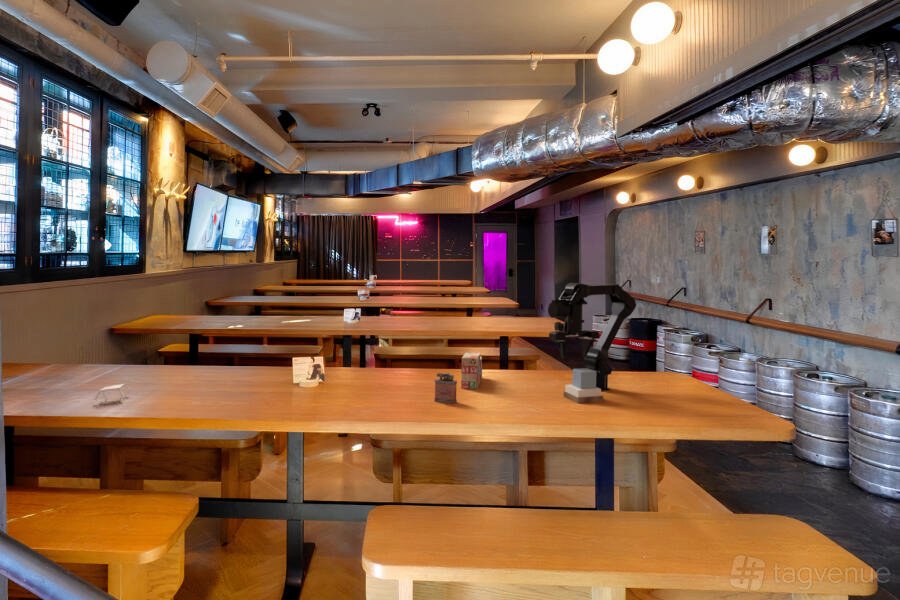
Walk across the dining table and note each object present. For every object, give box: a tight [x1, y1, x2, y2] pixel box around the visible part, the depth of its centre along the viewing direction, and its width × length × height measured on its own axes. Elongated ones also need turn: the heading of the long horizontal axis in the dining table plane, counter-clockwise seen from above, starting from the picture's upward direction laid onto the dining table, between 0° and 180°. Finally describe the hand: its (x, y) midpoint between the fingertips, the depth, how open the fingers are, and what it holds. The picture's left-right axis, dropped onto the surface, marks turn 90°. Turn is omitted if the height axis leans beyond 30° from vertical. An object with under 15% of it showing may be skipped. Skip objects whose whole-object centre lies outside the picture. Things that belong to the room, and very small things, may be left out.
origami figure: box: [94, 383, 132, 405], centre depth 183 cm, size 12×8×5 cm
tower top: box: [564, 383, 602, 397], centre depth 192 cm, size 9×9×2 cm
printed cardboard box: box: [460, 352, 483, 390], centre depth 216 cm, size 21×6×12 cm, turn 171°
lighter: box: [433, 372, 458, 404], centre depth 186 cm, size 8×3×10 cm, turn 71°
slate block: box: [571, 367, 596, 389], centre depth 191 cm, size 6×6×6 cm
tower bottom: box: [563, 390, 604, 404], centre depth 192 cm, size 10×10×2 cm
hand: (573, 357), depth 202 cm, fingers open, 9 cm apart
